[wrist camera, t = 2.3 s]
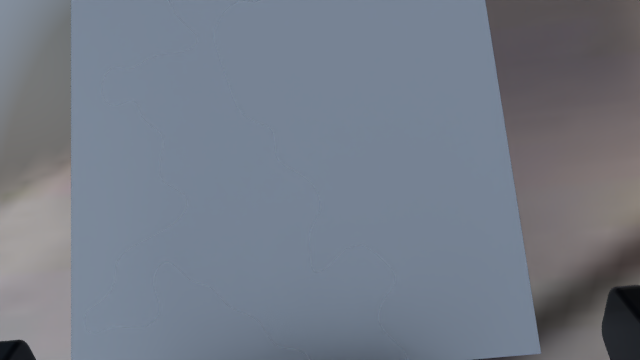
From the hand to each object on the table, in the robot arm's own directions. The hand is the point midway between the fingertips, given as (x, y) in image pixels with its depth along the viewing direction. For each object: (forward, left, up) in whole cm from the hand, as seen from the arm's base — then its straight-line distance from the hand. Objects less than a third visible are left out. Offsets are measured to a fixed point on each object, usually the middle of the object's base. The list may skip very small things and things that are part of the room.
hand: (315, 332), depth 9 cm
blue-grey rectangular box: (+2, +1, -9) cm, 10 cm away
